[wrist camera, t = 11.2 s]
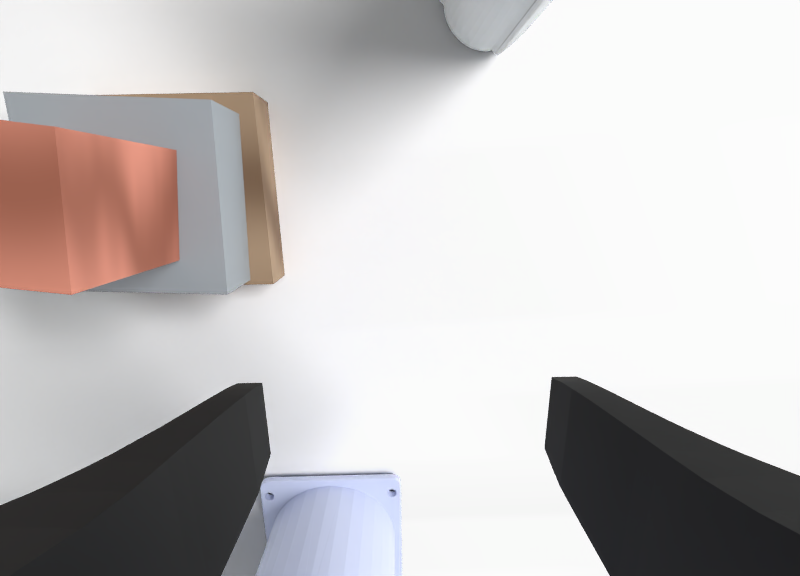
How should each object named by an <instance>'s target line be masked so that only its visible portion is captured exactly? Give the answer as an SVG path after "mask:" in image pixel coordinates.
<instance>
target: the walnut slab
mask: <svg viewBox="0 0 800 576" xmlns="http://www.w3.org/2000/svg"><path fill="white" fill-rule="evenodd" d="M102 96H128V97H154V98H181V99H207V100H213V101H215V102H217V103H219V104H221V105H223V106H224V107H226V108H228V109H230V110H232V111H234V112H236V113H238V114H239V120H240V135H241V150H242V164H243V179H244V193H245V208H246V223H247V237H248V252H249V267H250V281H248V282H246V283H245V284H243V285H250V284H274V283H275V282H277V281H278V280H279V279H280V278H282V277H283V276H284V275H285V274H284V264H283V254H282V244H281V234H280V224H279V214H278V204H277V194H276V184H275V174H274V164H273V154H272V144H271V133H270V123H269V113H268V103H267V102H266V101H265V100H263V99H262V98H260V97H259V96H257V95H256V94H255V93H253V92H238V93H184V94H131V95H102Z"/></svg>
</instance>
